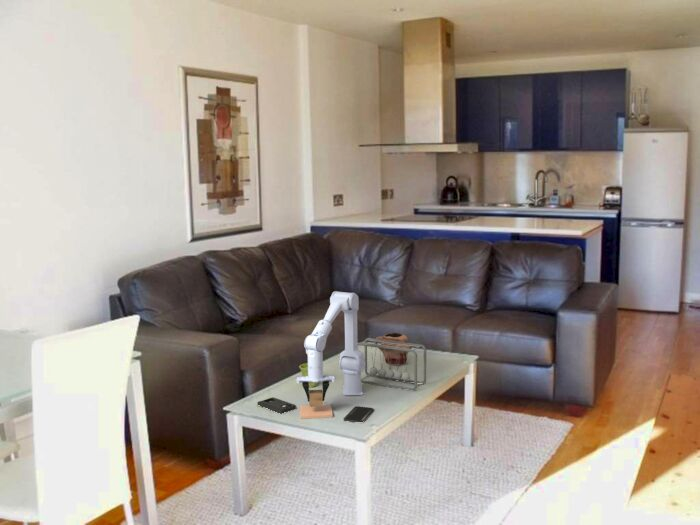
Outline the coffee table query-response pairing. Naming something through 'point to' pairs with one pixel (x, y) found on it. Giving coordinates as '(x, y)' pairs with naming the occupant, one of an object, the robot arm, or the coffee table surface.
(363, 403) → the coffee table surface
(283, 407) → the vhs tape
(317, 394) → the walnut cube
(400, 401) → the coffee table surface
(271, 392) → the coffee table surface
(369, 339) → the newton's cradle
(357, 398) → the coffee table surface
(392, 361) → the decorative planter
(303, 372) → the plant pot
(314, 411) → the terracotta tile
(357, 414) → the phone
